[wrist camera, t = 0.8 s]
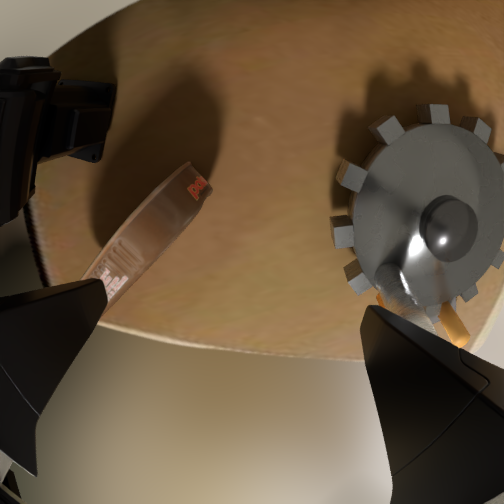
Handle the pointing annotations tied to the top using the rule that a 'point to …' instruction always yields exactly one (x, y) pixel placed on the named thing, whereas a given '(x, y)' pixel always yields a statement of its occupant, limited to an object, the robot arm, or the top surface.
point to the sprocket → (423, 213)
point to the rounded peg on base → (452, 323)
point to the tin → (149, 231)
